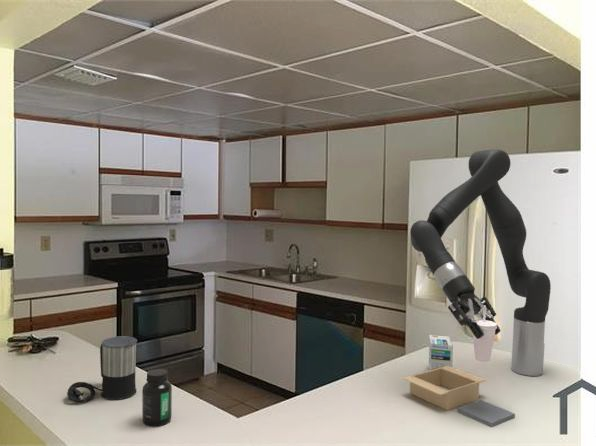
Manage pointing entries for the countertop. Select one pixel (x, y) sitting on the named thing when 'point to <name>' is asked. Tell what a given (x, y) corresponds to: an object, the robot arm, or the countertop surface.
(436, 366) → the light bulb box
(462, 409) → the mat
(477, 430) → the countertop surface
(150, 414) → the supplement bottle
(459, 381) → the carton
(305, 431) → the countertop surface
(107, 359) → the milk frother
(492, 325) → the smoothie
